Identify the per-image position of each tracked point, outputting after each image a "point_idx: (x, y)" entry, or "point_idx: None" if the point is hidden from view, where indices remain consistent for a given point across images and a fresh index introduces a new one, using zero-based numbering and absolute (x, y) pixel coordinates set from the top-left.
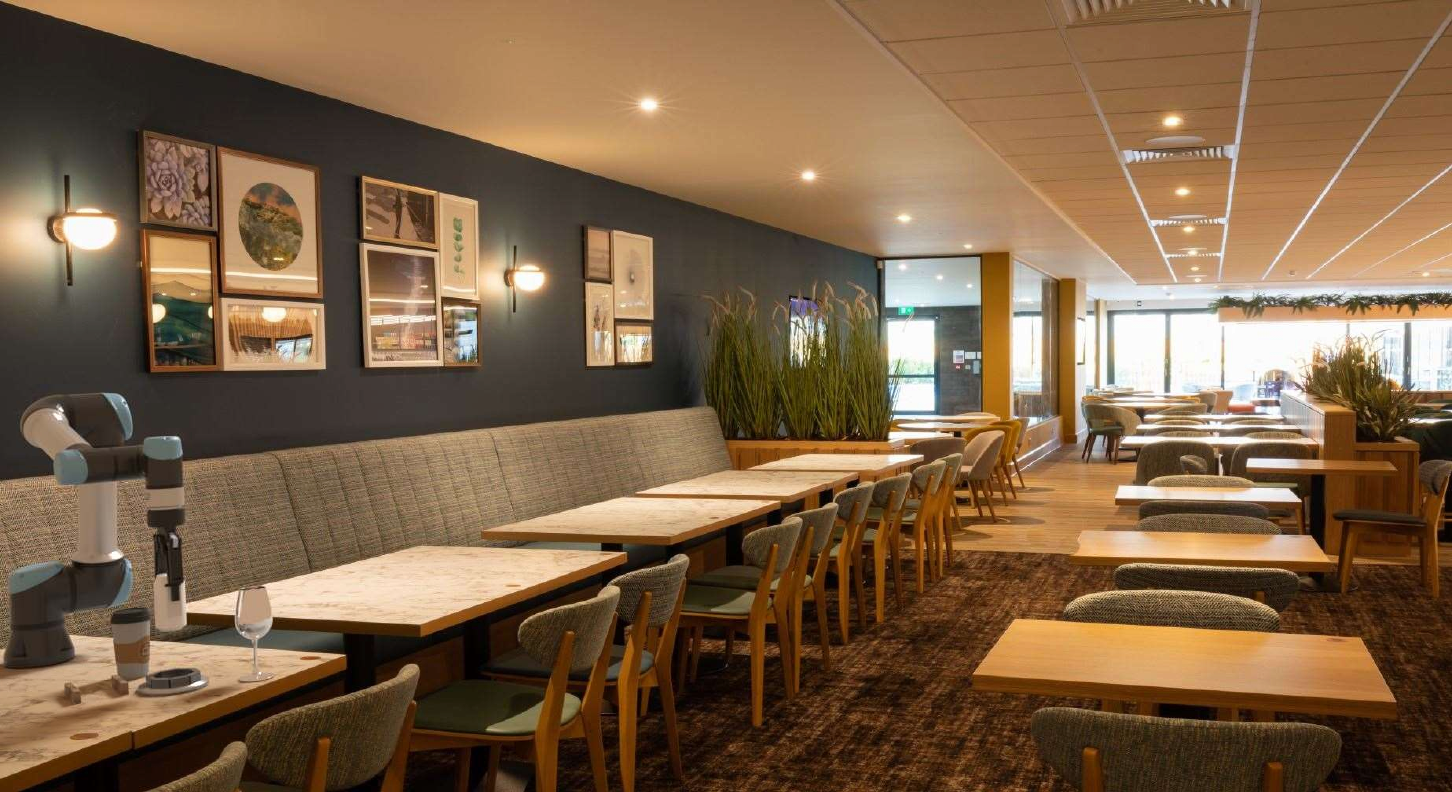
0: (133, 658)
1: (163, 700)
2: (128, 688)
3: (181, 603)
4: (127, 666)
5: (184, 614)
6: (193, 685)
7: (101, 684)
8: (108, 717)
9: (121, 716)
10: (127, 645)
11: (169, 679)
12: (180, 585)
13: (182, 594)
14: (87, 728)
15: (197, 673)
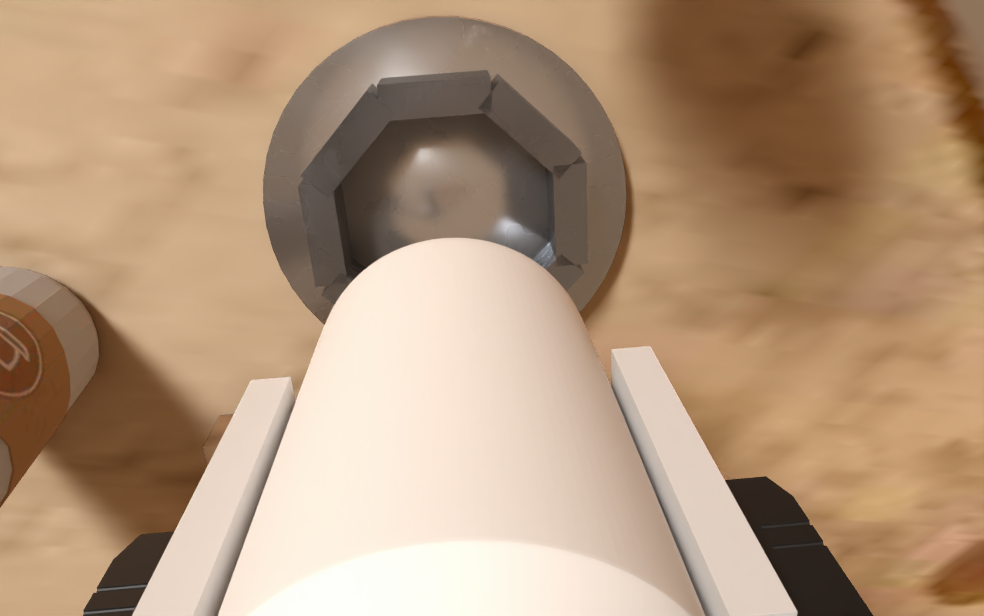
0: (59, 396)
1: (690, 289)
2: None
3: (686, 419)
4: (73, 401)
5: (554, 305)
6: (597, 134)
7: (133, 467)
8: (793, 495)
9: (821, 458)
10: (18, 472)
11: (576, 265)
12: (791, 610)
13: (620, 454)
14: (888, 560)
15: (525, 101)
